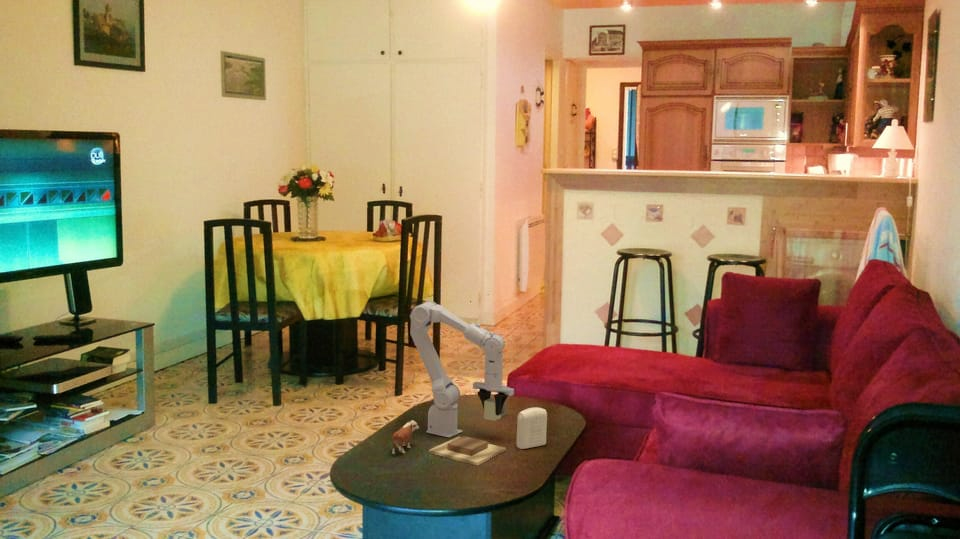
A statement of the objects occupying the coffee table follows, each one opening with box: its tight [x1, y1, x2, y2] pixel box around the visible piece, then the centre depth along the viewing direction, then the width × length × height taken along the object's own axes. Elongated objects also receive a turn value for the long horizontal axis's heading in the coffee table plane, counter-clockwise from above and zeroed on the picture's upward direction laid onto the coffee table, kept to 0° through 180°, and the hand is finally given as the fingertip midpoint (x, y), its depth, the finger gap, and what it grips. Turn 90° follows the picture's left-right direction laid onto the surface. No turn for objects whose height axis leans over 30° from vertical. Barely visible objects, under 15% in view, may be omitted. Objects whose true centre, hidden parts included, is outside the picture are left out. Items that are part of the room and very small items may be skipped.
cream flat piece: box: [428, 435, 507, 466], centre depth 269 cm, size 18×16×3 cm
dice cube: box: [501, 401, 507, 418], centre depth 307 cm, size 5×5×5 cm
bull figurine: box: [391, 419, 420, 455], centre depth 269 cm, size 4×13×8 cm, turn 155°
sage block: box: [483, 397, 502, 422], centre depth 281 cm, size 4×4×6 cm
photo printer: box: [515, 407, 548, 450], centre depth 275 cm, size 10×4×12 cm, turn 123°
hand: (492, 413), depth 281 cm, fingers closed on sage block, 4 cm apart
